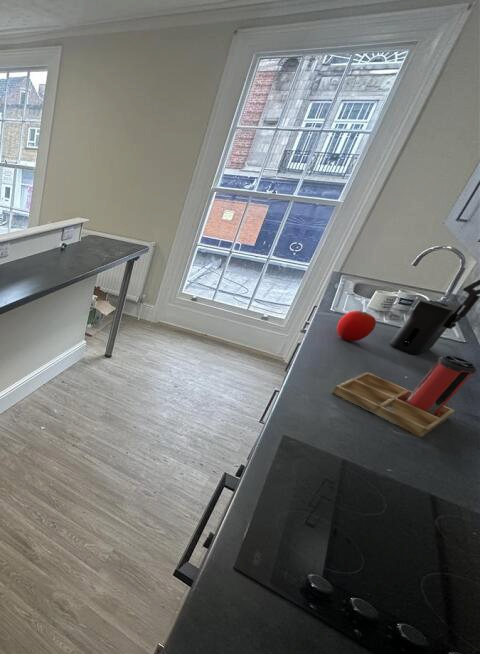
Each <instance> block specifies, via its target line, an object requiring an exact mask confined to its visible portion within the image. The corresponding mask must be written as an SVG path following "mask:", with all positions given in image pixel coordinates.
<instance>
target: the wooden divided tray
mask: <svg viewBox="0 0 480 654" xmlns="http://www.w3.org/2000/svg"><path fill="white" fill-rule="evenodd" d="M412 392H413V391H412V390H410V389H407V388H404V387H402V386H400V385H398V384H396V383H394V382H391V381H389V380H386V379H384V378H382V377H379V376H378V375H375V374H373V373H370V372H368V371H366V372H364V373H362V374H359V375H358V376H355V377H352V378H351V379H348V380H347V381H344V382H342V383H339V384H337V385H336V386H335V387H334V389H333V390H332V392H331V394H332V393H334V394H336V395H338V396H340V397H342V398H344V399H346V400H348V401H351V402H353V403H355V404H358V405H360V406H362V407H364V408H366V409H368V410H371V411H373V412H375V413H377V414H379V415H381V416H383V417H385V418H387V419H388V420H391V421H392V422H394V423H396V424H398V425H399V426H400V427H402V428H403V429H402V428H401V429H402V430H404V429H405V430H404V431H406V430H407V431H406V432H408V431H409V432H408V433H410V432H411V433H410V434H412V435H414V436H415V437H418V438H421V439H422V438H423V437H424V436H426V435H427V434H428V433H430V432H431V431H433V430H434V429H436V428H437V427H438V426H440V425H442V424H443V423H445V421H447V420H448V419H449V418H450V417H451V416H452V415H453V414H454V413H455V412H456V410H455V409H453V408H451V407H448V406H446V405H444V406H443V407H442V408H441V410H440V411H439V412H438V414H437V415H436V416H434V415H432V414H430V413H427V412H425V411H423V410H421V409H419V408H417V407H414V406H412V405H410V404H408V403H406V402H403V401H404V400H405V399H407V398H408V397H409V395H410V394H411V393H412ZM334 394H333V395H334ZM336 395H335V396H336ZM338 396H337V397H338ZM340 397H339V398H340ZM342 398H341V399H342ZM344 399H343V400H344ZM346 400H345V401H346ZM348 401H347V402H348ZM379 402H380V403H381V404H380V405H378V403H379ZM386 407H391V408H392V407H393V410H392V411H390V410H388V409H386ZM394 408H395V411H394ZM439 424H440V425H439ZM400 427H399V428H400ZM432 429H433V430H432ZM425 434H426V435H425Z"/></svg>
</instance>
